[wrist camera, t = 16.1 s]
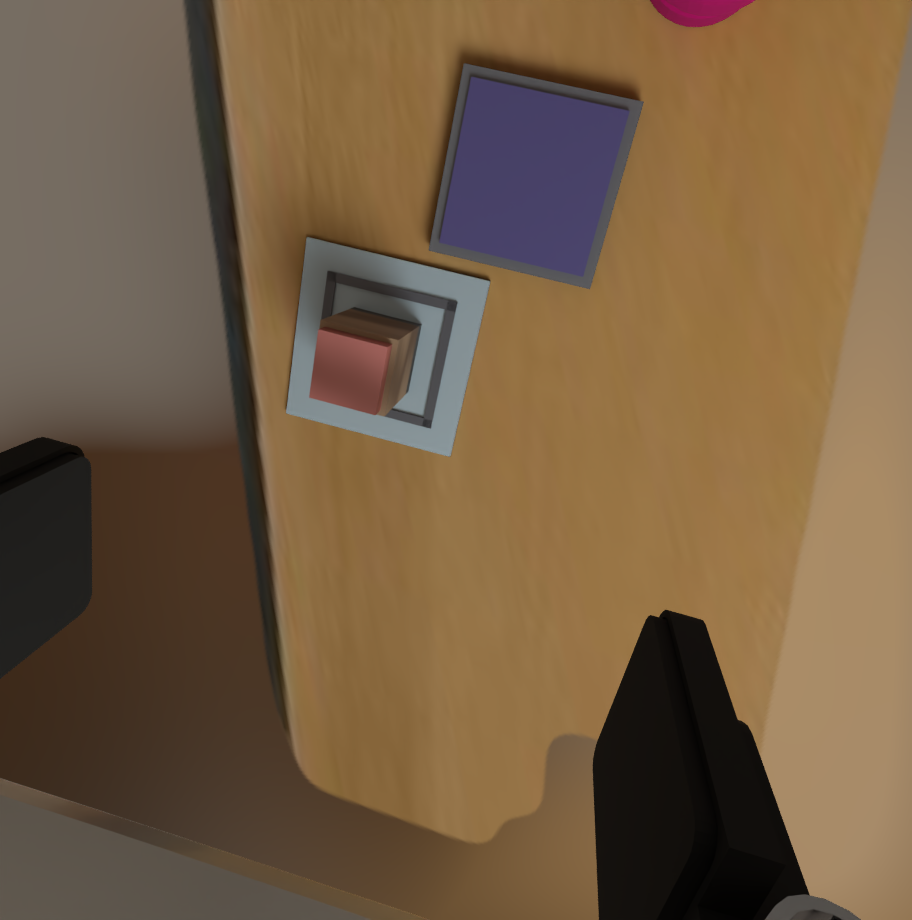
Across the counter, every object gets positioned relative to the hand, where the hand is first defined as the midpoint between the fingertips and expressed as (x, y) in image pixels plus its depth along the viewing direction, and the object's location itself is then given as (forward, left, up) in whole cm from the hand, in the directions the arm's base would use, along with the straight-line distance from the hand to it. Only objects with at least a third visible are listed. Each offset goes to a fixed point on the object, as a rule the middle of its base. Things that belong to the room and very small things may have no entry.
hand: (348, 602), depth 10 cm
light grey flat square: (+4, -8, -32) cm, 34 cm away
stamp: (+4, -8, -32) cm, 33 cm away
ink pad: (-8, -1, -32) cm, 33 cm away
